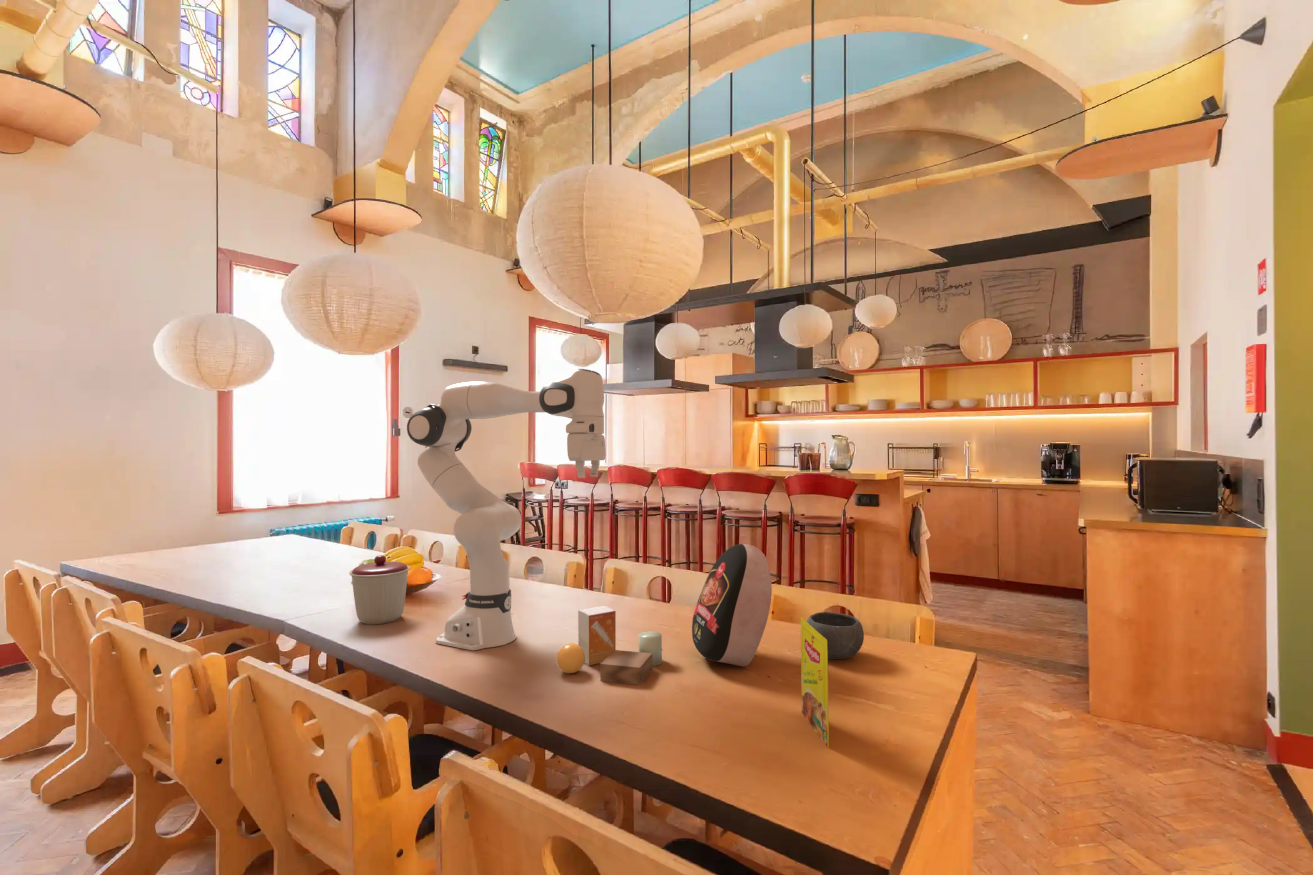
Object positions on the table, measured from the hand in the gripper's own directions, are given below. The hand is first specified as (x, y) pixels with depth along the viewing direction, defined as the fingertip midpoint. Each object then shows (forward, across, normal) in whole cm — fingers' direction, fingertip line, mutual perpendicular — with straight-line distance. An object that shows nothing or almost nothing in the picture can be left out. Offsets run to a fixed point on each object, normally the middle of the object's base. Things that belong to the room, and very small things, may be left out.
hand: (587, 477), depth 168 cm
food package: (+48, +32, +61) cm, 84 cm away
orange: (+44, +16, +2) cm, 47 cm away
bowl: (+47, -10, +66) cm, 81 cm away
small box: (+48, +6, +5) cm, 48 cm away
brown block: (+48, +14, +16) cm, 52 cm away
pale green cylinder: (+48, +4, +19) cm, 51 cm away
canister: (+48, -12, -76) cm, 91 cm away
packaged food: (+47, -2, +39) cm, 62 cm away
